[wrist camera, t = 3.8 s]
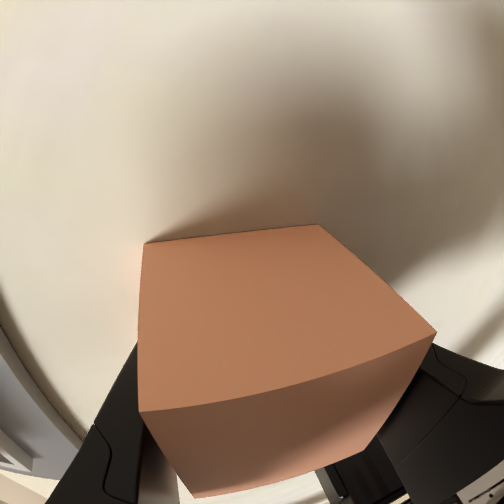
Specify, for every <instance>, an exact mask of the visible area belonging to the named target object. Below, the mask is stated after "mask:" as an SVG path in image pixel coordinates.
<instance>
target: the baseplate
mask: <svg viewBox="0 0 504 504" xmlns="http://www.w3.org/2000/svg"><path fill="white" fill-rule="evenodd" d="M82 443H83V441H82V440H81V439H80V438H79V437H78V436H77V435H76V434H75V432H74V431H73V430H72V429H71V428H70V427H69V426H68V424H67V423H66V422H65V421H64V420H63V419H62V417H61V416H60V415H59V414H58V412H57V411H56V410H55V409H54V407H53V406H52V405H51V404H50V402H49V401H48V400H47V398H46V397H45V396H44V394H43V393H42V392H41V390H40V389H39V388H38V386H37V385H36V383H35V382H34V381H33V379H32V378H31V376H30V375H29V373H28V372H27V370H26V369H25V367H24V366H23V364H22V362H21V361H20V359H19V358H18V356H17V354H16V353H15V351H14V349H13V348H12V346H11V344H10V343H9V341H8V339H7V337H6V336H5V334H4V332H3V330H2V328H1V326H0V469H2V470H6V471H10V472H15V473H19V474H24V475H29V476H35V477H41V478H47V479H54V480H61V478H62V477H63V475H64V473H65V472H66V470H67V469H68V467H69V466H70V464H71V462H72V461H73V459H74V457H75V456H76V454H77V453H78V451H79V449H80V447H81V445H82Z"/></svg>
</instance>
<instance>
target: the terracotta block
mask: <svg viewBox="0 0 504 504" xmlns="http://www.w3.org/2000/svg"><path fill="white" fill-rule="evenodd" d="M436 333H437V331H436V330H435V329H434V328H433V327H432V326H431V325H430V324H429V323H428V322H427V321H426V320H425V319H424V318H422V317H421V316H420V315H419V314H418V313H417V312H416V311H415V310H414V309H413V308H412V307H411V306H410V305H409V304H408V303H407V302H406V301H405V300H404V299H403V298H402V297H400V296H399V295H398V294H397V293H396V292H395V291H394V290H393V289H392V288H391V287H390V286H389V285H388V284H386V283H385V282H384V281H383V280H382V279H381V278H380V277H379V276H378V275H377V274H375V273H374V272H373V271H372V270H371V269H370V268H369V267H368V266H366V265H365V264H364V263H363V262H362V261H361V260H360V259H359V258H357V257H356V256H355V255H354V254H353V253H352V252H350V251H349V250H348V249H347V248H346V247H345V246H344V245H342V244H341V243H340V242H339V241H338V240H336V239H335V238H334V237H333V236H332V235H331V234H329V233H328V232H327V231H326V230H325V229H323V228H322V227H321V226H320V225H319V224H317V225H306V226H296V227H286V228H277V229H267V230H258V231H249V232H239V233H230V234H222V235H213V236H204V237H196V238H187V239H179V240H171V241H163V242H155V243H147V244H144V246H143V256H142V267H141V280H140V294H139V314H138V404H139V413H140V415H141V417H142V418H143V420H144V422H145V424H146V426H147V427H148V429H149V431H150V433H151V434H152V436H153V438H154V439H155V441H156V443H157V444H158V446H159V447H160V449H161V451H162V452H163V454H164V455H165V457H166V458H167V460H168V462H169V463H170V465H171V466H172V468H173V469H174V471H175V472H176V473H177V475H178V476H179V478H180V479H181V481H182V482H183V483H184V485H185V486H186V488H187V489H188V490H189V492H190V493H191V494H192V496H193V497H194V498H195V499H196V498H204V497H210V496H217V495H223V494H228V493H233V492H238V491H243V490H248V489H252V488H256V487H260V486H264V485H268V484H272V483H276V482H279V481H283V480H286V479H289V478H293V477H296V476H299V475H302V474H305V473H308V472H311V471H314V470H317V469H319V468H322V467H325V466H327V465H330V464H332V463H335V462H338V461H340V460H342V459H345V458H347V457H350V456H352V455H354V454H356V453H359V452H361V451H363V450H364V449H365V448H366V447H367V445H368V444H369V443H370V441H371V440H372V439H373V437H374V436H375V435H376V433H377V432H378V431H379V429H380V428H381V426H382V425H383V424H384V422H385V421H386V419H387V418H388V416H389V415H390V414H391V412H392V411H393V409H394V408H395V406H396V404H397V403H398V401H399V400H400V398H401V397H402V395H403V393H404V392H405V390H406V389H407V387H408V385H409V384H410V382H411V380H412V379H413V377H414V375H415V373H416V372H417V370H418V368H419V366H420V364H421V363H422V361H423V359H424V357H425V355H426V353H427V351H428V349H429V347H430V345H431V343H432V342H433V339H434V337H435V335H436Z"/></svg>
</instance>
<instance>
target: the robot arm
mask: <svg viewBox="0 0 504 504" xmlns="http://www.w3.org/2000/svg"><path fill="white" fill-rule="evenodd" d="M94 424H95V425H94ZM94 424H93V425H92V426H91V428H90V430H89V432H88V434H87V436H86V438H85V440H84V442H83V443H82V445H81V447H80V449H79V451H78V453H77V454H76V456H75V457H74V459H73V461H72V462H71V464H70V466H69V467H68V469H67V470H66V472H65V473H64V475H63V477H62V478H61V480H60V481H59V483H58V484H57V486H56V488H55V489H54V491H53V492H52V494H51V495H50V497H49V499H48V500H47V501H46V503H45V504H180V501H179V493H178V484H177V475H176V472H175V471H174V469H173V468H172V466H171V465H170V463H169V462H168V460H167V458H166V457H165V455H164V454H163V452H162V451H161V449H160V447H159V446H158V444H157V443H156V441H155V439H154V438H153V436H152V434H151V433H150V431H149V429H148V427H147V426H146V424H145V422H144V420H143V418H142V417H141V415H140V413H139V404H138V341H137V343H136V345H135V346H134V348H133V350H132V352H131V353H130V355H129V357H128V359H127V361H126V362H125V364H124V366H123V368H122V370H121V371H120V373H119V375H118V377H117V379H116V381H115V382H114V384H113V386H112V388H111V390H110V392H109V394H108V395H107V397H106V399H105V401H104V403H103V405H102V407H101V409H100V411H99V413H98V415H97V417H96V418H95V420H94ZM314 471H315V473H316V475H317V477H318V479H319V481H320V483H321V485H322V488H323V490H324V492H325V494H326V496H327V498H328V500H329V502H330V504H390V503H392V502H394V501H395V500H397V499H399V498H401V497H402V496H404V495H405V494H407V493H408V495H409V497H410V498H409V499H407V500H405V501H404V502H402V503H401V504H504V370H502V369H497V368H494V367H491V366H489V365H486V364H483V363H480V362H477V361H475V360H472V359H469V358H467V357H464V356H461V355H459V354H456V353H454V352H452V351H449V350H447V349H445V348H442V347H440V346H438V345H436V344H434V343H431V345H430V347H429V349H428V351H427V353H426V355H425V357H424V359H423V361H422V363H421V364H420V366H419V368H418V370H417V372H416V373H415V375H414V377H413V379H412V380H411V382H410V384H409V385H408V387H407V389H406V390H405V392H404V393H403V395H402V397H401V398H400V400H399V401H398V403H397V404H396V406H395V408H394V409H393V411H392V412H391V414H390V415H389V416H388V418H387V419H386V421H385V422H384V424H383V425H382V426H381V428H380V429H379V431H378V432H377V433H376V435H375V436H374V437H373V439H372V440H371V441H370V443H369V444H368V445H367V447H366V448H365V449H364V450H363V451H361V452H359V453H356V454H354V455H352V456H350V457H347V458H345V459H342V460H340V461H338V462H335V463H332V464H330V465H327V466H325V467H322V468H319V469H317V470H314Z"/></svg>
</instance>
